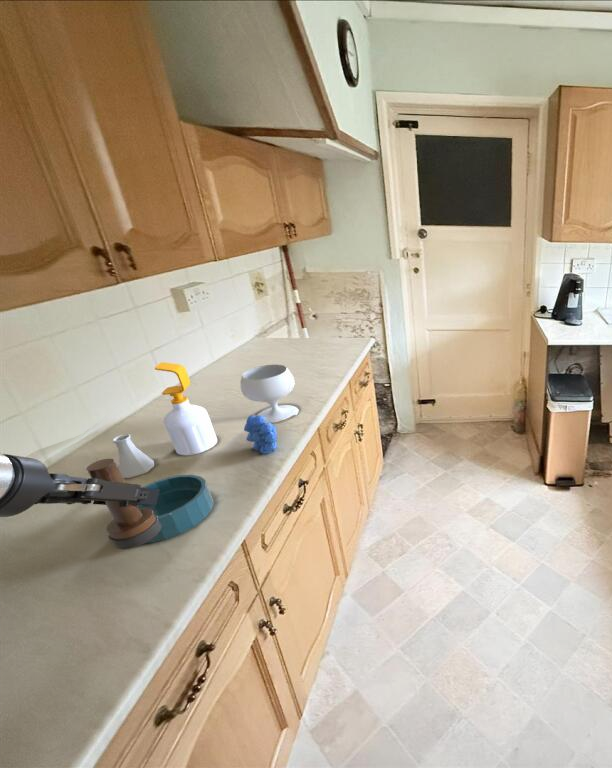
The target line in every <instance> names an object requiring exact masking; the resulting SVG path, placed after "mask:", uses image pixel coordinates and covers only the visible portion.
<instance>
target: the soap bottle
mask: <svg viewBox="0 0 612 768" xmlns="http://www.w3.org/2000/svg"><path fill="white" fill-rule="evenodd" d="M154 370H156V371H162V372H168V373H169V372H170V373H173V374H175V375H176V377H177V378H178V381H179V384H180V385H174V386H168V387H166V388H165V389H164V390H163V391H162V392H161V395H163V396H165V395H167V396H168V395H169V396H170V397H173V398H172V399H171V400H170V403H171V405H172V409H171V410H170V411H168V413H167V414H165V416H164V418H163V424H164V427H165V429H166V432H167V434H168V436H169V438H170V441H171V444H172V446H173V448H174V451H175V453H176V454H177V455H180V456H191V455H196V454H201V453H203V452H205V451H208V450H210V449H211V448H213V447H214V446H215V445H216V444H217V443H218V438H217V434H216V432H215V429H214V427H213V424H212V422H211V418H210V416H209V413H208V411H207V410H206V408H204V406H200V405H196V404H190V401H189V399H188V397H187V396H183V394H184V392H185V391H186V389H188V388H189V386H191V380H190V377H189V374H188V371H187V369H186V368H185V366H183V364H178V363H172V362H171V363H170V362H165V361H163V362H162V361H161V362H160V363H158V364H157V365H156V366H154Z"/></svg>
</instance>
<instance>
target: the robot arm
mask: <svg viewBox="0 0 612 768" xmlns="http://www.w3.org/2000/svg"><path fill="white" fill-rule="evenodd" d="M142 487H143V486H142V485H141V484H138V483H135V484H133V483H127V482H126V483H120V482H112V481H105V480H101V479H97V478H91V477H89V478H86V477H76V476H69V475H68V474H66V473H65V474H63V473H49V470H48V468H47V466H46V465H45V464H44V462H42V461H41V460H39V459H36V458H33V457H27V456H20V455H13V454H7V453H1V452H0V518H8V517H15V516H16V515H19V514H21V513H23V512H26V511H27V510H29V509H30V508H32V507H33V506H34V505H38V504H39V505H51V504H54V505H55V504H66V505H72V504H82V505H88V504H91V503H92V502H93V503H92V505H100V506H107V505H106V503H105V501H113V502H119V503H120V504H119V507H127V506H128V504H137V505H156V503H157V499H158V495H159V491H160V489H151V488H142Z"/></svg>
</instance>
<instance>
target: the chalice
mask: <svg viewBox="0 0 612 768" xmlns="http://www.w3.org/2000/svg"><path fill="white" fill-rule="evenodd" d="M295 385H296V381H295V378H294V375H293V374H292V372H291V371H290V369H289V368H288V367H287V366H285V365H284V364H283V365H282V364H266V365H259V366H256V367H253V368H250V369H248V370H246V371H245V372H243V373H242V375H241V378H240V391H241V393H242V395H243V396H244V397H245V398H246V399H247V400H250V401H253V402H258V403H266V404H268V405H269V406H270V407H268V408H266V409H264V410H262V411H260V412H258V414H257V415H260V416H263V417H265V418H266V419H265V422H269V423H276V422H281V421H284V420H286V419H289V418H290V417H292V416H297V415H298V414H299V410H300V409H299V408H298V407H297V406H294V405H289V404H288V405H287V404H283V405H279V401H280V400H281V399H283V398H284V397H286V396H288V395H289V394H290V393H291V392H292V391H293V390H294V388H295Z"/></svg>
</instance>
